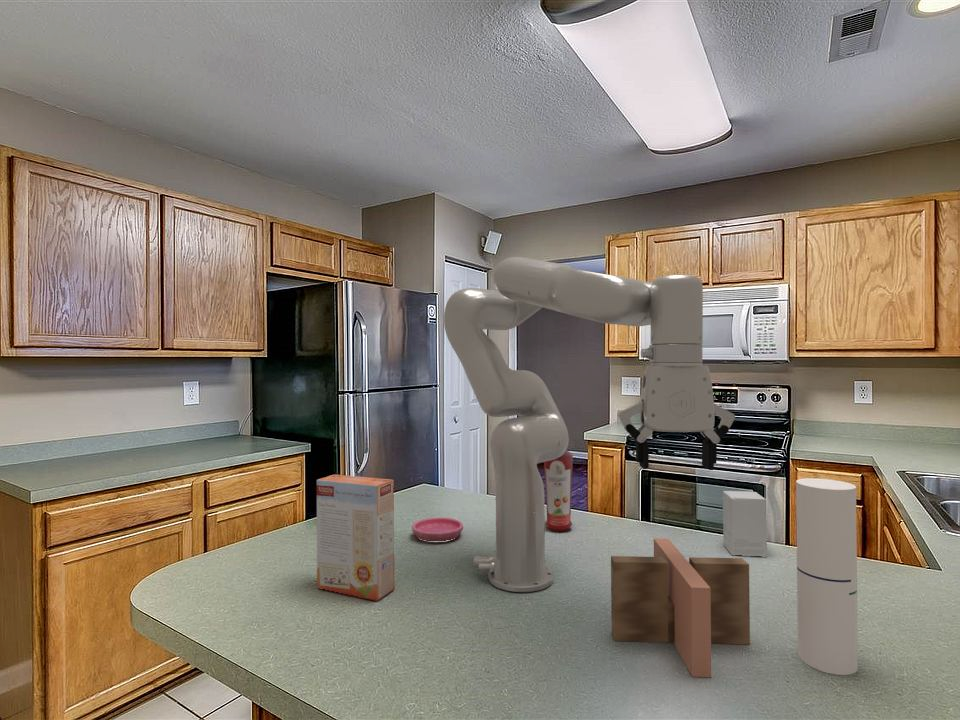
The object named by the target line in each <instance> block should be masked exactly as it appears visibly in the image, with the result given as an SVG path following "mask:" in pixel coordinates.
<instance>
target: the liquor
mask: <svg viewBox="0 0 960 720" xmlns="http://www.w3.org/2000/svg"><path fill="white" fill-rule="evenodd" d="M573 457H574V455H573V453H571V452H570V451H568V450H567V449H566V451H565V453H564V454H563V455H562V456H560V457H559V458H557V459H554V460H550V461H546V462H543V464H544V465H543V467H544V471H543V472H544V483H545V485H544V486H545V499H546V501H545V503H546V520H545V527H547V528H548V530H550V531H552V530H553V531H552V532H556V531H557V533H558V532H559V533H560V532H562V531H563V532H566V530H567V531H568V530H569V529H570V528H571V527H572V526H573V523H572V521H571V520H572V519H571V514H572V513H571V511H572V510H571V509H572V483H573Z"/></svg>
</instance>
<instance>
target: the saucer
mask: <svg viewBox="0 0 960 720" xmlns="http://www.w3.org/2000/svg"><path fill="white" fill-rule="evenodd" d="M411 530H412V532H413V534H414V535H415V536H416V537H417V538H418V539H419V538H420V539H422V540H426V541H446V540H451V539H454V538H456V537H457V538H458V536H459V535H461V532H463V530H464V523H463V522H461V521H460V520H458V519H456V518H452V517H451V518H450V517H428V518H423V519H419V520H418V521H417V520H416V522H414V523H412V526H411ZM457 538H456V539H457ZM420 539H419V540H420ZM454 540H455V539H454Z"/></svg>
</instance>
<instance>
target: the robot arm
mask: <svg viewBox="0 0 960 720" xmlns="http://www.w3.org/2000/svg"><path fill="white" fill-rule="evenodd" d="M492 279H493V285H494V287H495V289H496V290H493V289H486V288H480V287H478V288H477V287H470V288H469V287H467V288H463V289H459V290H457V291H455V292H454V293H452V294H451V295H450V297H449V298H448V300H447V301H446V304H445V308H444V314H443V325H444V331H445V334H446V335H445V336H446V337H447V340H448V342H449V343H450V346H451V348H452V349H453V351H454V353H455V355H456V357H457V358H458V360H459V362H460V363H461V365H462V367H463V370H464V372H465V375H466V377H467V379H468V382H469V385H470V386H471V389H472V391H473V394H474V395H475V398H476V400H477V402H478V404H479V406H480V408H481V410H482V411H483V413H484V414H485V415H487V416H488V417H489V416H490V417H492V418H501V417H502V418H503V417H512V418H507V419H505V420H503V421H501V422H500V423H498V424H497V425H496V426H495V427H494V429H493V431H492V432H491V435H490V439H489V440H490V441H489V442H490V443H489V446H490V447H489V448H490V454H491V459H492V463H493V471H494V480H495V481H494V482H495V551H494V554H493V555H492V554H491V555H489V556H481V555H480V556H478V555H477V556H475V555H474V556H473V567H477V568H478V571H488V582H489V583H490V584H491V585H493V586H494V587H496V588H497V589H500V590H504V591H507V592H514V593H532V592H538V591H542V590H545V589H546V588H548V587H550V586H551V585H552V583H553V582H554V574H553V573H554V572H553V571H552V570H551V569H550V568H548V567H547V566H546V540H545V539H546V524H545V522H546V520H545V519H546V517H545V516H546V515H545V511H546V509H545V503H546V501H545V487H544V486H545V485H544V482H543V478H542V476H541V473H540V472H539V469H538V466H537V465H538V464H541V463H544V462H546V461H550V460H554V459H557V458H559V457H560V456H562V455H563V454H564V453H565V451H566V450H567V449H568V446H569V444H570V443H569V442H570V439H569V438H570V437H569V432H568V427H567V426H566V422H565V421H564V418H563V417H562V415H561V413H560V410H559V408H558V406H557V404H556V403H555V401H554V399H553V397H552V394H551V392H550V390H549V389H548V387H547V385H546V384H545V382H544V381H543V379H542V378H541V377H540V376H539V375H538V374H537V373H535V372H532V371H530V370H526V369H525V370H524V369H515V370H514V369H512V368H510V366H508V364H507V362H506V360H505V359H504V357H503V355H502V354H503V353H502V352H501V349H500V348H499V347H498V345H497V344H496V343H495V342H494V341H493V339H491V337H489V336H488V335H487V333H485V332H484V330H488V331H489V330H492V331H509V330H513V329H514V328H516V327H518V326H519V325H521V324H522V323H524V322H525V321H526V320H528V319H530V317H532V316H533V315H534V314H536V313H538V311H540V310H541V309H542V308H545V309H548V310H551V311H555V312H558V313H563V314H566V315H570V316H573V317H577V318H581V319H584V320H589V321H594V322H597V323H602V324H607V325H617V326H618V325H619V326H620V325H621V326H627V327H644V326H650V345H649V347H647V348H641V350H640V356H641V358H642V359H644V358H645V359H647V360H648V361H649V362H650V365H646V367H645V370H644V374H643V375H644V376H643V379H642V380H643V382H642V389H641V397H640V398H641V399H640V402H637V403H635V404H633V405H632V406H629V407H627V408H625V409H623V410H622V411H620V412H618V414H617V416H618V418H619V421H620V422H621V424H622V426H623V428H624V430H625V431H626V433H628V434H629V436H631V437H632V438H633V439H634V440H635V462H636V463H638V464H639V465H638V466H640V468H642V469H643V470H648V469H649V467H650V465H649V462H650V460H649V458H650V454H649V453H650V452H649V449H650V448H649V447H650V445H649V443H648V442H647V439H648V438H649V437H650V436H651V434H652V433H653V432H654V431H655V432H663V433H664V432H668V433H669V432H671V433H672V432H673V433H674V432H676V433H677V432H679V433H680V432H681V433H700V434H701V435H702V436H703V437H704V440H703V441H702V443H701V466H702V467H704V468H705V469H707V470H708V471H713V470H714V469H715V464H717V457H718V456H717V455H718V454H717V453H718V451H717V450H718V449H717V448H718V447H717V444H719V443H720V442H721V439H722V438H723V437H724V436H726V435H727V434H728V432H729V431H730V428H731V426H732V425H733V423H734V421H735V420H736V415H735V414H734V413H733V412H730V411H729V410H726V409H724V408H723V407H722V406H720V405H717V404H715V401H714V400H715V399H714V391H713V389H714V388H713V384H712V383H713V382H712V376H711V372H710V367H709V365H703V342H704V341H703V335H704V334H703V331H704V329H703V326H704V325H703V324H704V323H703V321H704V320H703V319H704V317H703V315H704V312H703V309H704V308H703V307H704V306H703V305H704V304H703V303H704V302H703V300H704V299H703V297H704V290H703V288H704V287H703V282H702V279H700V277H698V276H696V275H693V274H671V275H669V274H667V275H663V276H659V277H657V278H655V279H654V280H653V281H652V282H651V281H643V280H638V279H633V278H630V277H625V276H619V275H611V274H607V273H606V274H605V273H601V272H596V271H595V272H594V271H589V270H583V269H579V268H578V269H577V268H574V266H572V265H569V264H564V263H558V262H552V261H546V260H540V259H534V258H531V257H530V258H528V257H525V256H524V257H523V256H511V257H507V258H505V259H503V260H502V261H500V262H499V263H498V264H497V266H496V267H495V269H494V271H493V278H492ZM638 414H639V415H640V422H641V425H640V426H639V428H638V429H637V428H636V427H635V426H634V425H633V423H632V420H631V418H632V417H634V416H635V415H638ZM715 415H716V416H718V417H720V421H719V422H720V423H719V424H717V426H716V427H715V423H716V422H715ZM514 416H516V417H514ZM517 416H518V417H517ZM714 427H715V428H714Z"/></svg>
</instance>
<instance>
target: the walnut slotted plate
mask: <svg viewBox="0 0 960 720" xmlns="http://www.w3.org/2000/svg"><path fill="white" fill-rule="evenodd" d="M688 562H689V563H690V565H691V566H692V567H693V568H694V569H695V570H696V572H697V573H698V574H699V575H700V576H701V577H702V579H703V580H704V581H705V582H706V583H707V584H708V586H709V587H710V588H711V645H712V644H716V645H717V644H718V645H750V644H751V629H750V628H751V627H750V626H751V622H750V621H751V620H750V619H751V618H750V617H751V615H750V612H751V611H750V609H751V608H750V606H751V605H750V600H751V599H750V563H748V562H747V561H746V560H745V559H744V558H742V557H696V556H695V557H693V556H691V557H690V556H689V558H688ZM610 593H611V594H610V597H611V598H610V599H611V601H610V602H611V604H610V606H611V607H610V608H611V609H610V611H611V614H610V616H611V618H610V620H611V635H612V638H613V640H614V642H638V643H639V642H640V643H641V642H642V643H645V642H646V643H673V644H675V616H674V604H673V602H672V601H671V599H670V597H669V596H668V569H667V562H666V560H665V559H664V558H663V557H654V556H631V555H630V556H628V555H627V556H624V555H622V556H621V555H611V556H610Z"/></svg>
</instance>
